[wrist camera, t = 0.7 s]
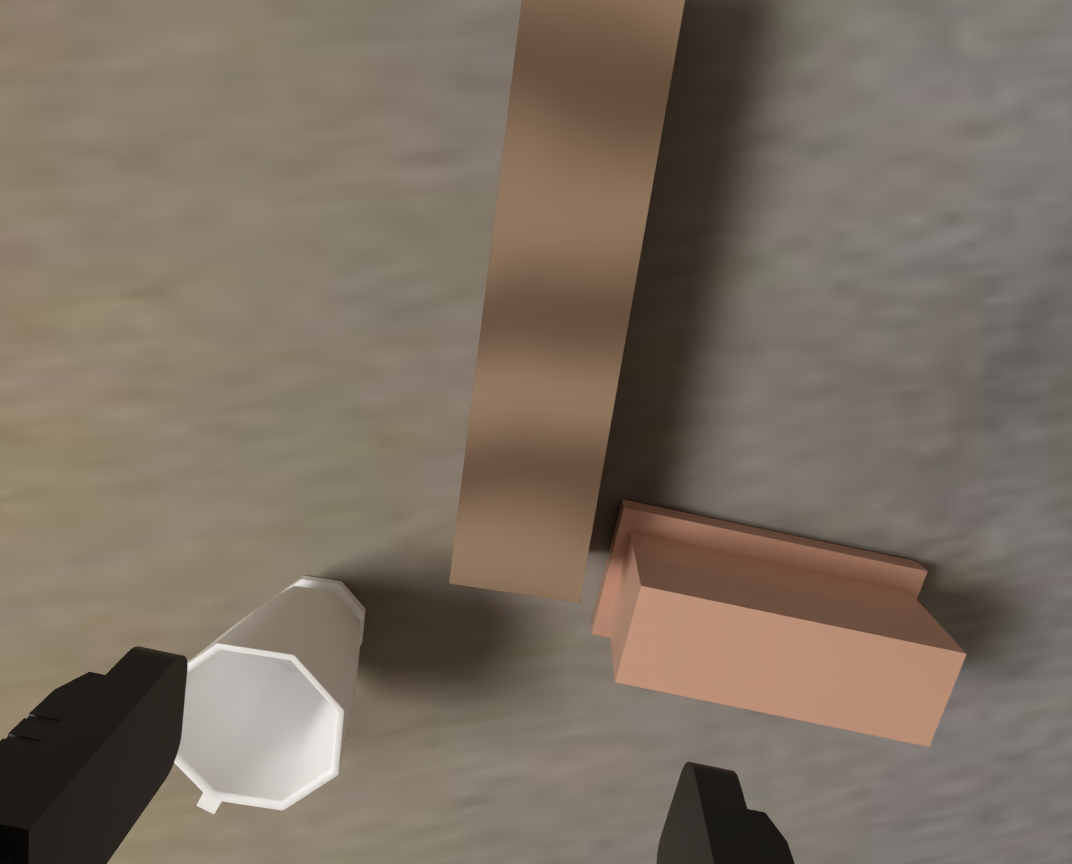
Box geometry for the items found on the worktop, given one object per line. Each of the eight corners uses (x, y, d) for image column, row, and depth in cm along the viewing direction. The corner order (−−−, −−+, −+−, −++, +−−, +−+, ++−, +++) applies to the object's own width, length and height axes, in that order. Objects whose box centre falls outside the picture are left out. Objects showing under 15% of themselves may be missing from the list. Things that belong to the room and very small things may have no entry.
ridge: (622, 499, 33) (633, 557, 28) (917, 561, 34) (990, 632, 28) (591, 622, 35) (595, 702, 29) (872, 681, 35) (933, 771, 29)
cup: (424, 596, 35) (383, 703, 27) (324, 757, 37) (261, 898, 30) (284, 519, 34) (200, 606, 26) (192, 688, 37) (91, 815, 29)
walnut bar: (536, -20, 29) (530, -69, 24) (671, 0, 29) (692, -45, 24) (465, 532, 34) (448, 583, 30) (577, 549, 34) (579, 602, 30)
